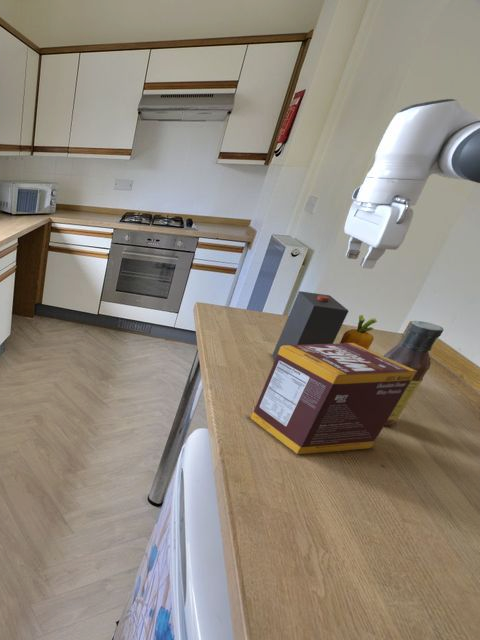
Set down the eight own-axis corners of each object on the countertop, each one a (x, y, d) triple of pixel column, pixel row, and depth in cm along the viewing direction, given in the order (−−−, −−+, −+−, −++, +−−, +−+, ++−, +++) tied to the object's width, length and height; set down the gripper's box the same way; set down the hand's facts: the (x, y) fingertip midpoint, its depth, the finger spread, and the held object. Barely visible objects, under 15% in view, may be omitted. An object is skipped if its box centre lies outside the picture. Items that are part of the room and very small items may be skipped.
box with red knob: (357, 371, 97) (395, 300, 89) (379, 393, 88) (422, 317, 80) (272, 355, 103) (300, 287, 95) (283, 374, 94) (315, 301, 86)
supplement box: (372, 448, 71) (419, 370, 64) (297, 455, 68) (338, 374, 61) (317, 413, 80) (353, 341, 73) (249, 418, 77) (280, 344, 71)
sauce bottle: (353, 404, 84) (403, 314, 75) (395, 418, 80) (452, 324, 71) (350, 416, 79) (402, 323, 71) (393, 432, 75) (454, 334, 67)
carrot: (324, 368, 97) (352, 310, 91) (351, 375, 95) (382, 315, 88) (325, 376, 94) (355, 316, 87) (353, 384, 91) (386, 322, 85)
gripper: (435, 200, 72) (398, 276, 77) (388, 191, 88) (360, 255, 94) (389, 197, 74) (356, 271, 80) (351, 189, 91) (326, 251, 97)
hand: (358, 262), depth 87 cm, fingers open, 8 cm apart
